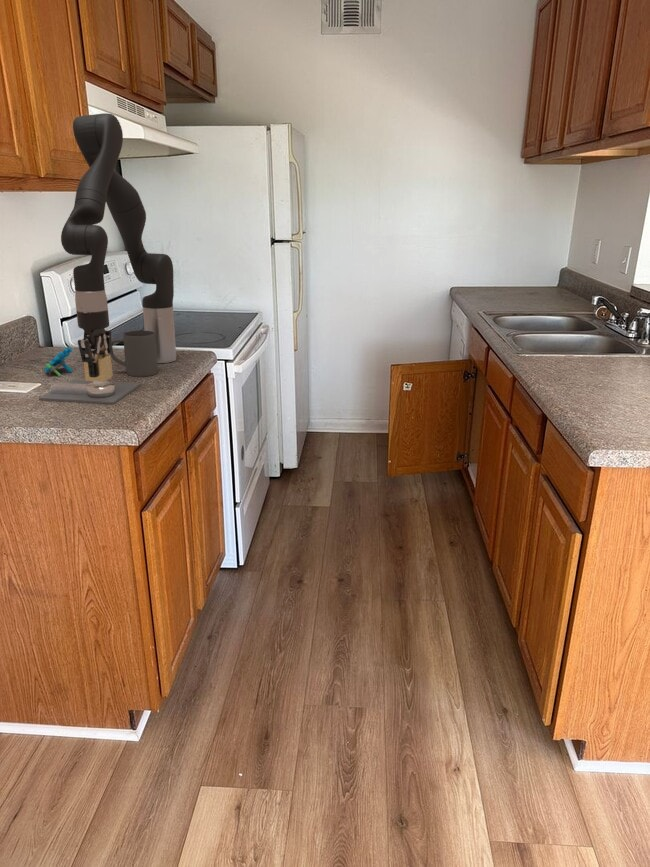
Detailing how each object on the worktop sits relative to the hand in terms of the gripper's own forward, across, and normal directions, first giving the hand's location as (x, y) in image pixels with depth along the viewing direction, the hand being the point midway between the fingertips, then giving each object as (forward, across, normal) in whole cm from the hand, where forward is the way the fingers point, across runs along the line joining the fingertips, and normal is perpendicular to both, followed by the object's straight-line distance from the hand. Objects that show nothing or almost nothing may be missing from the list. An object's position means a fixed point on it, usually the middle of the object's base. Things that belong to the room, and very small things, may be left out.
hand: (98, 373), depth 166 cm
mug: (+6, -24, -1) cm, 25 cm away
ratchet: (+5, 0, -5) cm, 7 cm away
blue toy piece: (+6, -21, -23) cm, 32 cm away
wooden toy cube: (+1, 0, 0) cm, 1 cm away
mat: (+6, -3, -4) cm, 8 cm away
